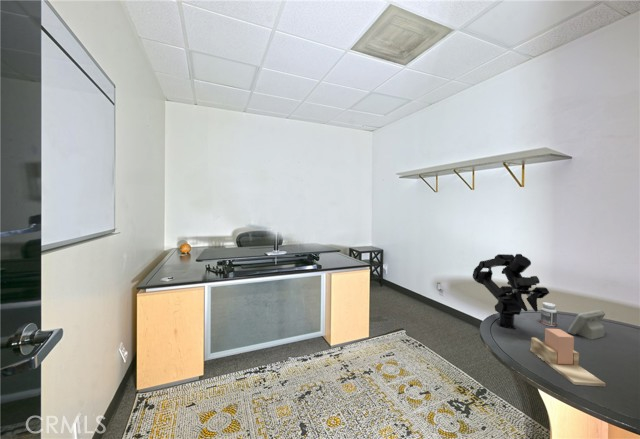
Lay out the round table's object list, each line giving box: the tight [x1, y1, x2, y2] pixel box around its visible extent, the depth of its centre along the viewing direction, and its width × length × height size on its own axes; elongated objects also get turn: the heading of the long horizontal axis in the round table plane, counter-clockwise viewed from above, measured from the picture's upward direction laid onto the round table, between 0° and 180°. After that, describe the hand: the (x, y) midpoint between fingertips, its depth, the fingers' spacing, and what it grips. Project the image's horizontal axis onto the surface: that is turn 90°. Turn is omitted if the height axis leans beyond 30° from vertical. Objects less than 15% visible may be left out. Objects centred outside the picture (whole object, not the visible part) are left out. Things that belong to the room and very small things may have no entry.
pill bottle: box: [540, 301, 558, 327], centre depth 122 cm, size 6×6×10 cm
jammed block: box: [544, 327, 575, 364], centre depth 92 cm, size 6×5×10 cm
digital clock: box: [567, 309, 606, 340], centre depth 112 cm, size 16×9×11 cm, turn 95°
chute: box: [529, 337, 606, 387], centre depth 89 cm, size 19×9×6 cm, turn 175°
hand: (531, 311), depth 105 cm, fingers open, 4 cm apart
